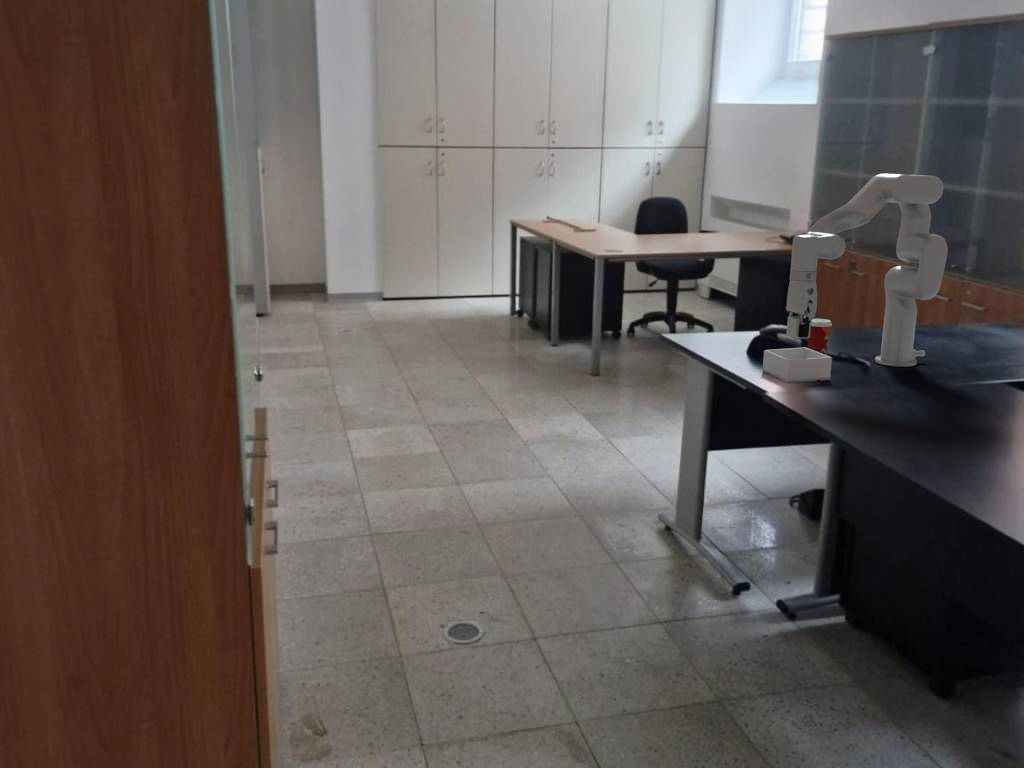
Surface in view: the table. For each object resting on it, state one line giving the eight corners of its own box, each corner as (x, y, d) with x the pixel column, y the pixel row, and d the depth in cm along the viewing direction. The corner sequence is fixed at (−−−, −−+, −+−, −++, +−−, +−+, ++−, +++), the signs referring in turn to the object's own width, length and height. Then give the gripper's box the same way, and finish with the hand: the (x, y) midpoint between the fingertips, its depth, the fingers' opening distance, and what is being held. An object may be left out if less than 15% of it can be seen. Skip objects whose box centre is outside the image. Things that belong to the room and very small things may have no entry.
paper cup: (830, 365, 292) (833, 323, 288) (805, 364, 293) (808, 322, 290) (827, 359, 299) (830, 318, 295) (803, 359, 301) (806, 317, 297)
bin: (803, 368, 288) (805, 347, 286) (830, 379, 274) (831, 357, 272) (762, 371, 285) (764, 350, 283) (786, 383, 271) (788, 360, 269)
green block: (800, 334, 279) (802, 315, 277) (809, 338, 274) (811, 318, 273) (786, 335, 278) (787, 316, 276) (795, 338, 273) (796, 319, 272)
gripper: (830, 279, 264) (824, 340, 269) (798, 272, 280) (794, 329, 285) (807, 280, 262) (802, 341, 267) (777, 272, 278) (772, 330, 283)
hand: (798, 334), depth 276 cm, fingers closed on green block, 5 cm apart
